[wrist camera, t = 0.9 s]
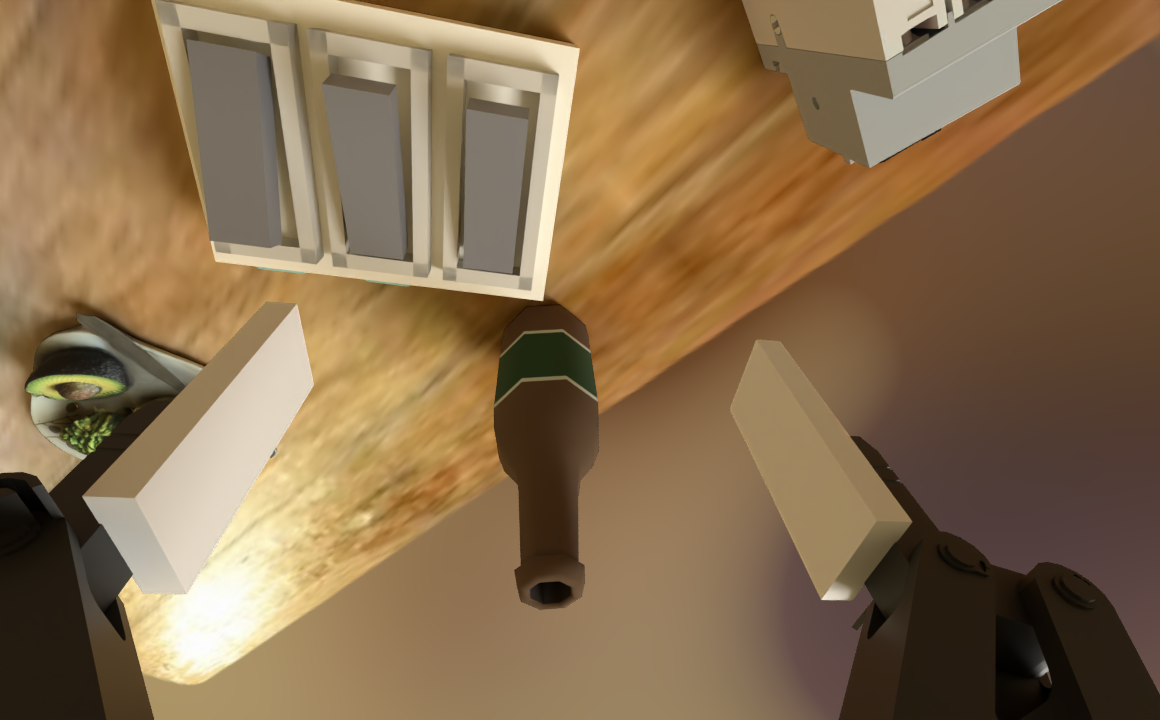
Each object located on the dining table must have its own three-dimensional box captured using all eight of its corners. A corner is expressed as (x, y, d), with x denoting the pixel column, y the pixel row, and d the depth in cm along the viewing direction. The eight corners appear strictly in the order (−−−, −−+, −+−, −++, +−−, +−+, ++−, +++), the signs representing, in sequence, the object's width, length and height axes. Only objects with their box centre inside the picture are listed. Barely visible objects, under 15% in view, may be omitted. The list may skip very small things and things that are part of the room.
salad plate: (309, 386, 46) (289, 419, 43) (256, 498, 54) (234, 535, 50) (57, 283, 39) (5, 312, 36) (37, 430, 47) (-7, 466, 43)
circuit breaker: (792, 149, 37) (919, 218, 25) (718, -68, 30) (846, -126, 17) (895, 89, 35) (1088, 130, 23) (844, -159, 28) (1086, -297, 15)
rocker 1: (204, 45, 27) (186, 39, 25) (270, 56, 27) (255, 51, 26) (225, 236, 30) (209, 240, 29) (282, 243, 31) (270, 248, 29)
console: (198, -32, 29) (122, -41, 24) (574, 44, 32) (581, 49, 27) (251, 237, 38) (205, 273, 33) (542, 275, 41) (542, 313, 36)
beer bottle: (602, 355, 46) (649, 610, 26) (526, 385, 48) (517, 649, 28) (567, 285, 42) (591, 527, 22) (485, 321, 43) (439, 578, 24)
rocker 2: (331, 73, 26) (321, 83, 25) (396, 84, 26) (389, 95, 25) (357, 239, 33) (350, 252, 32) (408, 245, 33) (403, 259, 32)
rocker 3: (470, 97, 27) (466, 109, 26) (529, 108, 27) (528, 119, 26) (466, 253, 34) (463, 267, 33) (513, 259, 35) (512, 273, 33)
